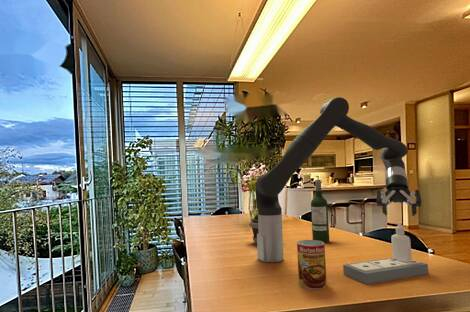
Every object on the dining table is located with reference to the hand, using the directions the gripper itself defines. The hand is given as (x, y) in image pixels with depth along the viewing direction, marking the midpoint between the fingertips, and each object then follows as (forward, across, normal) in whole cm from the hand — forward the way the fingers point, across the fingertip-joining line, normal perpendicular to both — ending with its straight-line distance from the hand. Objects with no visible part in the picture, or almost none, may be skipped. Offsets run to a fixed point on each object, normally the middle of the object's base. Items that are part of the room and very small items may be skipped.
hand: (399, 214), depth 106 cm
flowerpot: (0, -58, +25) cm, 63 cm away
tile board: (+21, -5, +3) cm, 22 cm away
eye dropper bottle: (+15, 0, +5) cm, 16 cm away
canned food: (+34, -24, -9) cm, 43 cm away
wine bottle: (-10, -34, +34) cm, 49 cm away
